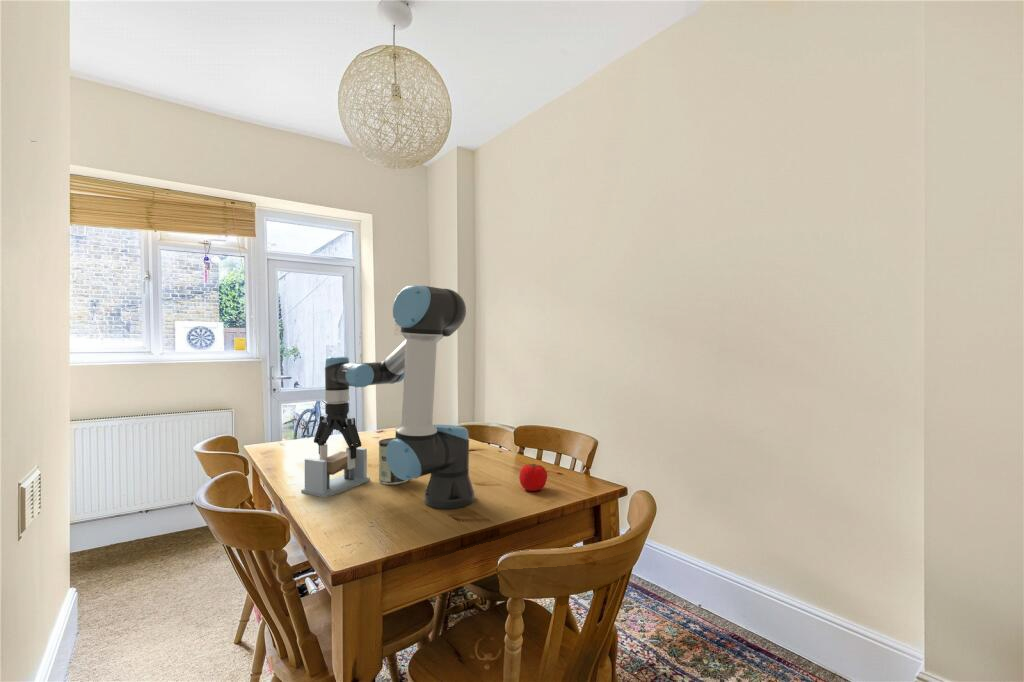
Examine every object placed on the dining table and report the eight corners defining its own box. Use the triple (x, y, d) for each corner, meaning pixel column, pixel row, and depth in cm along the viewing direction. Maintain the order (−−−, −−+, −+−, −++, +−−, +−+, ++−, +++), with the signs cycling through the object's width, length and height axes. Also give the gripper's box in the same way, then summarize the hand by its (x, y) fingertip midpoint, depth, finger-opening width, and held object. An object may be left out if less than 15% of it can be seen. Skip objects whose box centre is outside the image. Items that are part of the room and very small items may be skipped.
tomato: (532, 496, 147) (532, 469, 147) (512, 488, 155) (512, 463, 155) (553, 490, 153) (553, 464, 153) (532, 482, 161) (532, 458, 161)
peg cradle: (370, 480, 163) (370, 449, 163) (326, 497, 145) (326, 462, 145) (346, 476, 168) (346, 446, 167) (301, 492, 150) (301, 458, 150)
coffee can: (411, 476, 168) (411, 437, 168) (404, 485, 158) (404, 443, 158) (383, 476, 168) (383, 437, 168) (374, 484, 158) (374, 443, 158)
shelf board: (355, 463, 163) (355, 452, 163) (332, 474, 149) (332, 462, 149) (340, 462, 164) (340, 451, 164) (317, 473, 150) (317, 461, 150)
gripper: (372, 402, 155) (372, 467, 155) (320, 398, 165) (320, 459, 165) (356, 405, 148) (356, 473, 148) (302, 401, 158) (302, 464, 158)
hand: (337, 466), depth 156 cm, fingers open, 12 cm apart
